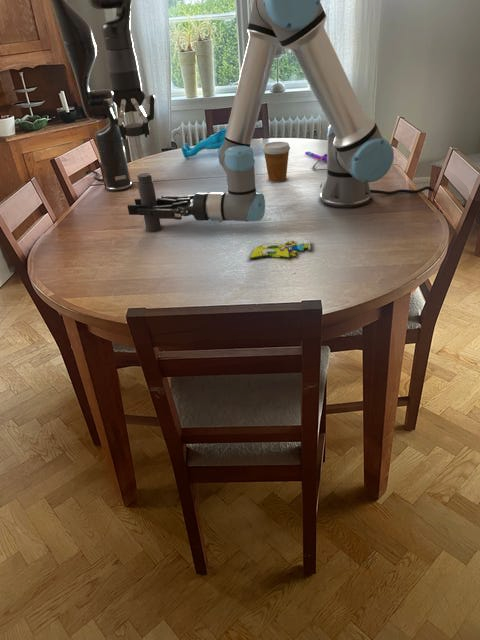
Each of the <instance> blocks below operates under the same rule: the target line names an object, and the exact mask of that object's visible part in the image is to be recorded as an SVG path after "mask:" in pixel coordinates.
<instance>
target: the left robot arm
mask: <svg viewBox="0 0 480 640" xmlns="http://www.w3.org/2000/svg"><path fill="white" fill-rule="evenodd" d="M87 1H88V3H89V5H90V6H91V7H92V8H93V9H96V10H113V9H115V14H114V17H113V18H112V19H110V20H107V21H105V22H103V23H102V24H101V26H100V29H101V36H102V41H103V45H104V50H105V60H106V65H107V71H108V75H109V80H110V85H111V89H110V88H104V89H94V90H91V89H90V87H89V83H90V77H91V74H92V70H93V67H94V64H95V62H96V57H97V52H98V50H97V44H96V42H95V41H96V40H95V38H94V33H93V30H92V28H91V26H90V24H89V23H88V21H87V20H86V19H85V17H83V16H82V15H81V14H80V13H79V12H78V11H77V10H76V9H75V8H74V7H73V6H72V5H71V4H70V3H69V1H67V0H49V3H50V5H51V8H52V10H53V13H54V16H55V20H56V23H57V26H58V27H57V28H58V31H59V33H60V36H61V40H62V43H63V46H64V49H65V53H66V55H67V57H68V60H69V63H70V66H71V69H72V72H73V74H74V78H75V81H76V85H77V89H78V92H79V97H80V100H81V105H82V109H83V111H84V114H85V116H86V118H87V119H88V120H90V121H101V120H108V124H106V125H105V126H104V127H102V128H100V129H98V130H97V131H95V132H94V139H95V143H96V147H97V153H98V156H99V160H100V162H99V163H98V164H99V168H100V173H101V177H102V178H98V177H99V176H100V173H99V172H98V171H96V170H93V169H88V170H86V171H85V175H88V174H89V173H93V174H95V175H94V176H93V180H95V181H98V182H103V185H104V189H106V190H107V191H111V192H120V191H124V190H127V189H130V188H132V187H133V184H132V179H131V175H130V170H129V169H130V168H129V165H128V160H127V155H126V149H125V144H124V141H125V140H128V136H126V134H125V128H124V126H126V124H125V123H124V120H125V115H126V113H130V112H133V113H136V112H137V113H138V115H139V117H140V118H141V120H142V124H143V128H144V133H145V134H144V137H145V138H149V136H150V133H151V130H150V123H149V122H150V121H153V120H154V119H155V107H156V106H155V104H156V96H155V94H146V93H145V92H144V91H143V87H142V81H141V76H140V70H139V63H138V60H137V55H136V52H135V48H134V42H133V36H132V31H131V16H132V15H131V14H132V13H131V12H132V0H87ZM144 100H146V103H147V104H148V105H149V114H148V115H147V114H146V112H145V110H144V108H143V106H142V105H143V102H144ZM117 107H118V108H117ZM118 109H119V113H118Z"/></svg>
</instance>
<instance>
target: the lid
mask: <svg viewBox="0 0 480 640" xmlns="http://www.w3.org/2000/svg"><path fill="white" fill-rule="evenodd" d="M124 128H125V134H126V136H127V137H131V138H134V137H140V136H143V135H145V133H144V128H143V122H142V123H140V122H136V123H129V124H125V126H124Z"/></svg>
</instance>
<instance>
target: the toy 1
mask: <svg viewBox="0 0 480 640" xmlns="http://www.w3.org/2000/svg"><path fill="white" fill-rule="evenodd" d="M226 130H227V128H221V129H220V130H219V131H217V132H215V133H214V134H212V135H209V137H206V138H204V139H201V140H200V141H199V142H197V143H196V144H195V145H194V146H193V147H190V145H189V143H187V142H186V143H184V146H183V145H182V146H181V147H180V149H181V153H182V155H183V157H184V158H185V159H187V158H190V157H194V156H196V155H198V153H200V152H201V151H203V150H206V151H208V150H217V154H219V150H220V148H221V146H222V145H223V142H224V139H225V134H226Z"/></svg>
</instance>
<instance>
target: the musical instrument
mask: <svg viewBox="0 0 480 640" xmlns="http://www.w3.org/2000/svg"><path fill="white" fill-rule="evenodd" d="M304 154H305V155H307V156H309V157H312V158H315V159H318V160H317V161H316V162H315V163H314V164H313V165H312V170H314V171H327V168H316V165H318V163H320V162H321V161H324V162H326V163H327V153H325V154H323V155H319V154H315V153H314V152H311V151H304Z"/></svg>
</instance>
